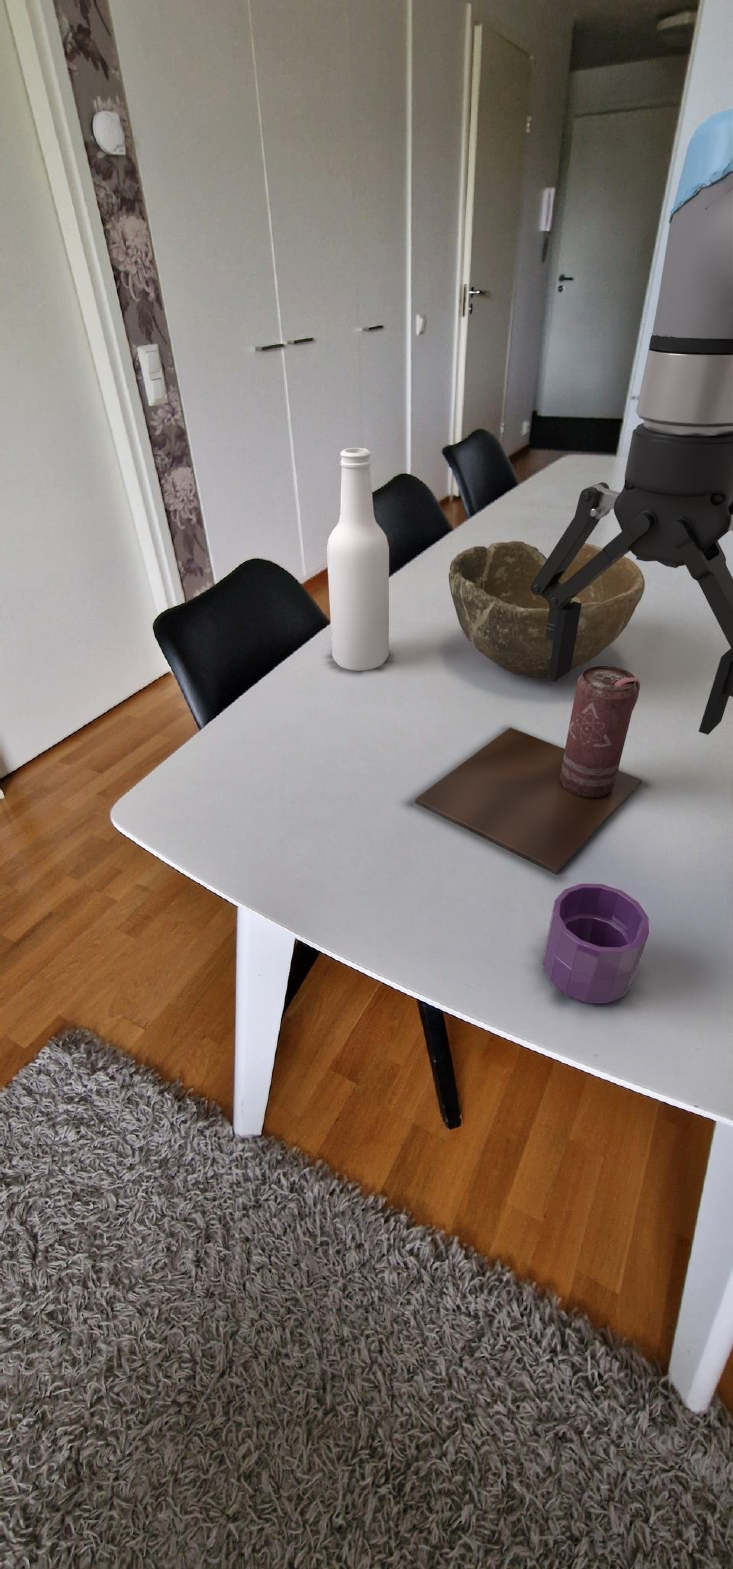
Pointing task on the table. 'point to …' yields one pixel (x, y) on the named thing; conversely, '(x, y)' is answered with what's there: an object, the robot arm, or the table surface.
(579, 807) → the placemat
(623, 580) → the bowl
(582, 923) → the purple faceted cup
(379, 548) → the alcohol
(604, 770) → the can
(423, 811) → the table surface
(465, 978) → the table surface
